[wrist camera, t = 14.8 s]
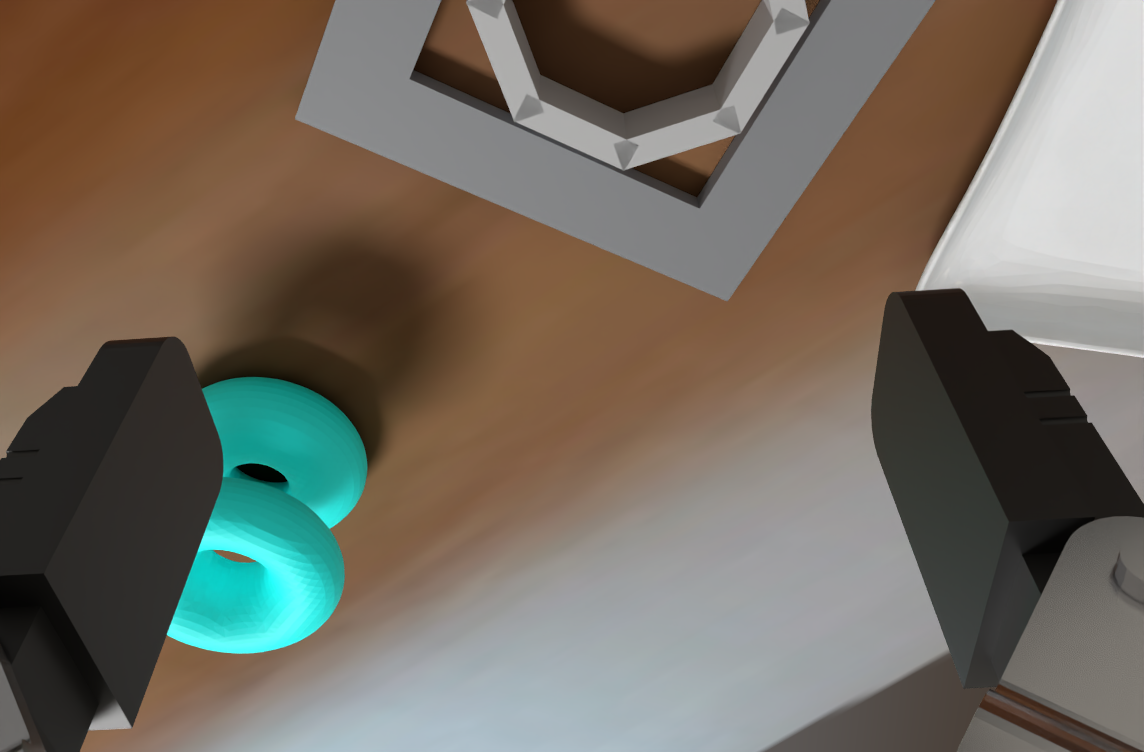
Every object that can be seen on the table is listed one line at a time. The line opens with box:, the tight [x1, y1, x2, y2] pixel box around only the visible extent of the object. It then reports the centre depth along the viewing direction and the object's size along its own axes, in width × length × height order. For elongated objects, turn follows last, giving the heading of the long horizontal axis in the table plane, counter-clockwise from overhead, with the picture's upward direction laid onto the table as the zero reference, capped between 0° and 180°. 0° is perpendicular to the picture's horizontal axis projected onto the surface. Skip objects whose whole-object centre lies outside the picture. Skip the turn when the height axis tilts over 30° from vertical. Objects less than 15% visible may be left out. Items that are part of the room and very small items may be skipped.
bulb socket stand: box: [295, 0, 935, 301], centre depth 38 cm, size 20×20×2 cm
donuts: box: [167, 377, 367, 653], centre depth 48 cm, size 10×10×10 cm
